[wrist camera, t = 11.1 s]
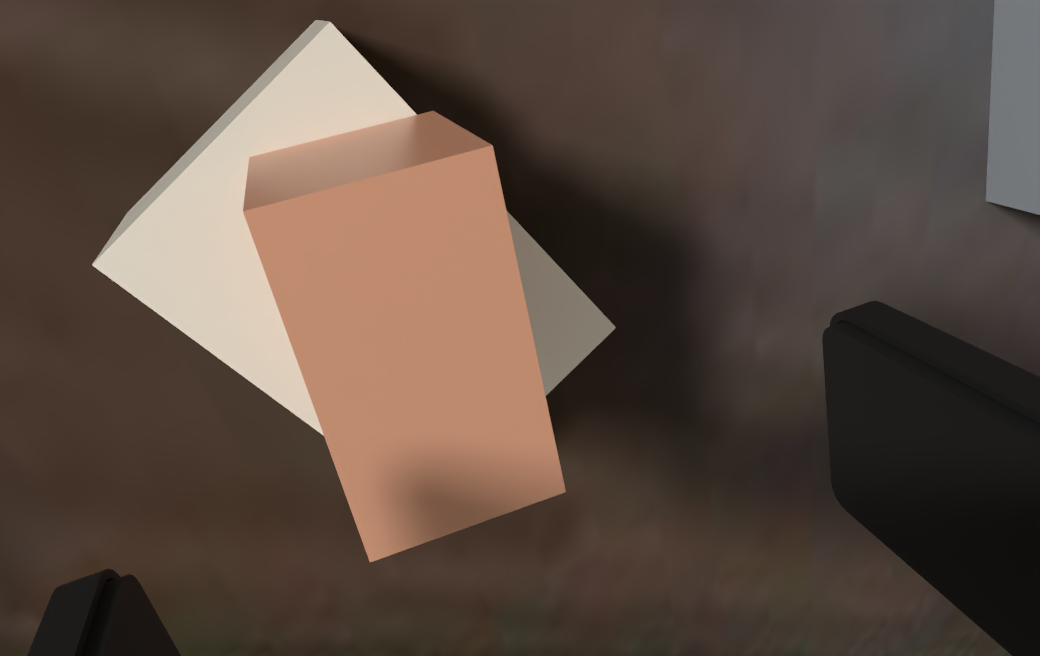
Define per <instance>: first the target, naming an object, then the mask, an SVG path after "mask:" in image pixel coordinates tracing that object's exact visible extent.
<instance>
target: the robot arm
mask: <svg viewBox="0 0 1040 656" xmlns="http://www.w3.org/2000/svg"><path fill="white" fill-rule="evenodd" d="M822 341H823V356H824V372H825V388H826V404H827V419H828V435H829V451H830V466H831V482H832V488H833V491H834V494H835V496H836V498H837V500H838V501H839V503H840V504H841V506H842V507H843V508H844V509H845V510H846V511H847V512H848V513H849V514H851V515H852V516H853V517H854V518H855V519H856V520H857V521H859V522H860V523H861V524H862V525H863V526H864V527H865V528H867V529H868V530H869V531H870V532H871V533H872V534H874V535H875V536H876V537H877V538H878V539H879V540H880V541H882V542H883V543H884V544H885V545H886V546H887V547H888V548H890V549H891V550H892V551H893V552H894V553H895V554H896V555H898V556H899V557H900V558H901V559H902V560H903V561H904V562H906V563H907V564H908V565H909V566H910V567H911V568H912V569H914V570H915V571H916V572H917V573H918V574H919V575H921V576H922V577H923V578H924V579H925V580H926V581H927V582H929V583H930V584H931V585H932V586H933V587H934V588H935V589H937V590H938V591H939V592H940V593H941V594H942V595H943V596H945V597H946V598H947V599H948V600H949V601H950V602H951V603H953V604H954V605H955V606H956V607H957V608H958V609H960V610H961V611H962V612H963V613H964V614H965V615H966V616H968V617H969V618H970V619H971V620H972V621H973V622H974V623H976V624H977V625H978V626H979V627H980V628H981V629H982V630H984V631H985V632H986V633H987V634H988V635H989V636H990V637H992V638H993V639H994V640H995V641H996V642H997V643H999V644H1000V645H1001V646H1002V647H1003V648H1004V649H1005V650H1007V651H1008V652H1009V653H1010V654H1011V655H1012V656H1040V377H1038V376H1036V375H1034V374H1032V373H1030V372H1028V371H1026V370H1023V369H1021V368H1019V367H1017V366H1015V365H1013V364H1011V363H1009V362H1006V361H1004V360H1002V359H1000V358H998V357H996V356H994V355H992V354H989V353H987V352H985V351H983V350H981V349H979V348H977V347H975V346H973V345H970V344H968V343H966V342H964V341H962V340H960V339H958V338H956V337H953V336H951V335H949V334H947V333H945V332H943V331H941V330H939V329H936V328H934V327H932V326H930V325H928V324H926V323H924V322H922V321H920V320H917V319H915V318H913V317H911V316H909V315H907V314H905V313H903V312H900V311H898V310H896V309H894V308H892V307H890V306H888V305H886V304H884V303H881V302H878V301H872V302H868V303H865V304H862V305H859V306H856V307H854V308H851V309H848V310H845V311H842V312H839V313H836V314H835V315H834V316H833V317H832V319H831V322H830V327H828V328H827V329H825V330H824V333H823V340H822ZM27 656H181V655H180V653H179V652H178V650H177V648H176V646H175V645H174V643H173V641H172V639H171V638H170V636H169V634H168V632H167V630H166V629H165V627H164V625H163V623H162V622H161V620H160V618H159V616H158V615H157V613H156V611H155V609H154V608H153V606H152V604H151V602H150V600H149V599H148V597H147V595H146V593H145V592H144V590H143V588H142V586H141V585H140V583H139V582H138V580H137V579H136V578H135V577H134V576H133V575H126V576H123V577H120V576H119V575H118V574H117V573H116V572H115V571H114V570H111V569H106V570H103V571H100V572H98V573H95V574H92V575H89V576H86V577H83V578H80V579H78V580H75V581H72V582H69V583H66V584H63V585H61V586H59V587H57V588H56V589H55V591H54V592H53V594H52V596H51V598H50V601H49V603H48V606H47V608H46V611H45V613H44V616H43V618H42V621H41V623H40V626H39V628H38V631H37V633H36V636H35V638H34V640H33V643H32V645H31V648H30V650H29V653H28V655H27Z"/></svg>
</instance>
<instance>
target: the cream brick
mask: <svg viewBox="0 0 1040 656" xmlns="http://www.w3.org/2000/svg"><path fill="white" fill-rule="evenodd" d="M414 115H417V114H416V113H415V112H414V111H413V110H412V109H411V108H410V107H409V106H408V105H407V103H406V102H405V101H404V100H403V99H402V98H401V97H400V96H399V95H398V94H397V93H396V92H395V91H394V90H393V88H392V87H391V86H390V85H389V84H388V83H387V82H386V81H385V80H384V79H383V78H382V77H381V76H380V75H379V74H378V72H377V71H376V70H375V69H374V68H373V67H372V66H371V65H370V64H369V63H368V62H367V61H366V60H365V59H364V57H363V56H362V55H361V54H360V53H359V52H358V51H357V50H356V49H355V48H354V47H353V46H352V45H351V44H350V43H349V41H348V40H347V39H346V38H345V37H344V36H343V35H342V34H341V33H340V32H339V31H338V30H337V29H336V28H335V26H334V25H333V24H332V23H331V22H328V21H320V20H315V21H314V22H313V23H312V24H311V25H310V26H309V27H308V28H307V29H306V31H305V32H304V33H303V34H302V35H301V36H300V37H299V38H298V39H297V40H296V41H295V42H294V43H293V44H292V45H291V46H290V47H289V48H288V49H287V50H286V51H285V52H284V53H283V54H282V55H281V56H280V57H279V58H278V59H277V60H276V61H275V62H274V63H273V64H272V65H271V66H270V67H269V68H268V69H267V70H266V71H265V72H264V73H263V74H262V76H261V77H260V78H259V79H258V80H257V81H256V82H255V83H254V84H253V85H252V86H251V87H250V88H249V89H248V90H247V91H246V92H245V93H244V94H243V95H242V96H241V97H240V98H239V99H238V100H237V101H236V102H235V103H234V104H233V105H232V106H231V107H230V108H229V109H228V110H227V111H226V112H225V113H224V114H223V115H222V116H221V117H220V118H219V120H218V121H217V122H216V123H215V124H214V125H213V126H212V127H211V128H210V129H209V130H208V131H207V132H206V133H205V134H204V135H203V136H202V137H201V138H200V139H199V140H198V141H197V142H196V143H195V144H194V145H193V146H192V147H191V148H190V149H189V150H188V151H187V152H186V153H185V154H184V155H183V156H182V157H181V158H180V159H179V160H178V161H177V162H176V163H175V165H174V166H173V167H172V168H171V169H170V170H169V171H168V172H167V173H166V174H165V175H164V176H163V177H162V178H161V179H160V180H159V181H158V182H157V183H156V184H155V185H154V186H153V187H152V188H151V189H150V190H149V191H148V192H147V193H146V194H145V195H144V196H143V197H142V198H141V199H140V200H139V201H138V202H137V203H136V204H135V205H134V206H133V207H132V209H131V210H130V211H129V212H128V213H127V214H126V216H125V217H124V218H123V220H122V221H121V223H120V224H119V226H118V227H117V229H116V230H115V232H114V233H113V235H112V236H111V238H110V239H109V241H108V242H107V244H106V245H105V246H104V248H103V249H102V251H101V252H100V254H99V255H98V257H97V258H96V260H95V261H94V263H93V264H92V265H93V266H94V267H95V268H97V269H98V270H99V271H101V272H102V273H103V274H105V275H106V276H108V277H109V278H110V279H112V280H113V281H114V282H116V283H117V284H118V285H120V286H121V287H122V288H124V289H125V290H127V291H128V292H129V293H131V294H132V295H133V296H135V297H136V298H137V299H139V300H140V301H141V302H143V303H144V304H146V305H147V306H148V307H150V308H151V309H152V310H154V311H155V312H156V313H158V314H159V315H161V316H162V317H163V318H165V319H166V320H167V321H169V322H170V323H171V324H173V325H174V326H175V327H177V328H178V329H180V330H181V331H182V332H184V333H185V334H186V335H188V336H189V337H190V338H192V339H193V340H194V341H196V342H197V343H199V344H200V345H201V346H203V347H204V348H205V349H207V350H208V351H209V352H211V353H212V354H213V355H215V356H216V357H218V358H219V359H220V360H222V361H223V362H224V363H226V364H227V365H228V366H230V367H231V368H232V369H234V370H235V371H237V372H238V373H239V374H241V375H242V376H243V377H245V378H246V379H247V380H249V381H250V382H252V383H253V384H254V385H256V386H257V387H258V388H260V389H261V390H262V391H264V392H265V393H266V394H268V395H269V396H271V397H272V398H273V399H275V400H276V401H277V402H279V403H280V404H281V405H283V406H284V407H285V408H287V409H288V410H290V411H291V412H292V413H294V414H295V415H296V416H298V417H299V418H300V419H302V420H303V421H304V422H306V423H307V424H309V425H310V426H311V427H313V428H314V429H315V430H317V431H318V432H319V433H321V434H322V435H323V436H324V434H323V431H322V428H321V426H320V423H319V420H318V417H317V415H316V412H315V409H314V406H313V404H312V401H311V398H310V395H309V393H308V390H307V387H306V384H305V382H304V379H303V376H302V373H301V371H300V368H299V365H298V362H297V360H296V357H295V354H294V351H293V348H292V346H291V343H290V340H289V337H288V335H287V332H286V329H285V326H284V324H283V321H282V318H281V315H280V313H279V310H278V307H277V304H276V302H275V299H274V296H273V293H272V291H271V288H270V285H269V282H268V280H267V277H266V274H265V271H264V268H263V266H262V263H261V260H260V257H259V255H258V252H257V249H256V246H255V244H254V241H253V238H252V235H251V233H250V230H249V227H248V224H247V222H246V219H245V216H244V213H243V206H244V197H245V189H246V180H247V172H248V163H249V157H251V156H255V155H259V154H263V153H267V152H271V151H275V150H279V149H283V148H287V147H291V146H295V145H299V144H303V143H307V142H311V141H315V140H319V139H323V138H327V137H331V136H335V135H339V134H343V133H347V132H351V131H355V130H359V129H362V128H366V127H370V126H374V125H378V124H382V123H386V122H390V121H394V120H398V119H402V118H406V117H410V116H414ZM506 211H507V210H506ZM507 216H508V220H509V225H510V230H511V235H512V239H513V244H514V249H515V254H516V258H517V263H518V268H519V273H520V277H521V282H522V287H523V292H524V296H525V301H526V306H527V311H528V315H529V320H530V325H531V330H532V334H533V339H534V344H535V348H536V353H537V358H538V363H539V367H540V372H541V377H542V382H543V386H544V391H545V396H546V395H547V394H548V393H549V392H550V391H551V390H552V389H553V388H555V387H556V386H557V385H558V384H559V383H560V382H561V381H562V380H563V379H564V378H565V377H566V376H567V375H568V374H569V373H570V372H571V371H572V370H573V369H574V368H575V367H576V366H577V365H578V364H579V363H580V362H581V361H582V360H583V359H584V358H585V357H586V356H587V355H588V354H589V353H591V352H592V351H593V350H594V349H595V348H596V347H597V346H598V345H599V344H600V343H601V342H602V341H603V340H604V339H605V338H606V337H607V336H608V335H609V334H610V333H611V332H612V331H613V330H614V329H615V328H616V327H615V326H614V325H613V324H612V323H611V322H610V321H609V319H608V318H607V317H606V316H605V315H604V314H603V313H602V312H601V311H600V310H599V309H598V308H597V307H596V306H595V304H594V303H593V302H592V301H591V300H590V299H589V298H588V297H587V296H586V295H585V294H584V293H583V292H582V291H581V289H580V288H579V287H578V286H577V285H576V284H575V283H574V282H573V281H572V280H571V279H570V278H569V277H568V276H567V275H566V273H565V272H564V271H563V270H562V269H561V268H560V267H559V266H558V265H557V264H556V263H555V262H554V261H553V260H552V258H551V257H550V256H549V255H548V254H547V253H546V252H545V251H544V250H543V249H542V248H541V247H540V246H539V245H538V244H537V242H536V241H535V240H534V239H533V238H532V237H531V236H530V235H529V234H528V233H527V232H526V231H525V230H524V229H523V227H522V226H521V225H520V224H519V223H518V222H517V221H516V220H515V219H514V218H513V217H512V216H511V215H510V214H509V213H508V211H507Z"/></svg>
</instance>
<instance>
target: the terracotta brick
mask: <svg viewBox="0 0 1040 656" xmlns="http://www.w3.org/2000/svg"><path fill="white" fill-rule="evenodd" d="M243 213H244V216H245V219H246V222H247V224H248V227H249V230H250V233H251V235H252V238H253V241H254V244H255V246H256V249H257V252H258V255H259V257H260V260H261V263H262V266H263V268H264V271H265V274H266V277H267V280H268V282H269V285H270V288H271V291H272V293H273V296H274V299H275V302H276V304H277V307H278V310H279V313H280V315H281V318H282V321H283V324H284V326H285V329H286V332H287V335H288V337H289V340H290V343H291V346H292V348H293V351H294V354H295V357H296V360H297V362H298V365H299V368H300V371H301V373H302V376H303V379H304V382H305V384H306V387H307V390H308V393H309V395H310V398H311V401H312V404H313V406H314V409H315V412H316V415H317V417H318V420H319V423H320V426H321V428H322V431H323V434H324V437H325V440H326V442H327V445H328V448H329V451H330V453H331V456H332V459H333V462H334V464H335V467H336V470H337V473H338V475H339V478H340V481H341V484H342V486H343V489H344V492H345V495H346V497H347V500H348V503H349V506H350V508H351V511H352V514H353V517H354V520H355V522H356V525H357V528H358V531H359V533H360V536H361V539H362V542H363V544H364V547H365V550H366V553H367V555H368V558H369V561H370V562H372V561H375V560H378V559H381V558H384V557H386V556H389V555H392V554H395V553H398V552H400V551H403V550H406V549H409V548H411V547H414V546H417V545H420V544H423V543H425V542H428V541H431V540H434V539H436V538H439V537H442V536H445V535H448V534H450V533H453V532H456V531H459V530H461V529H464V528H467V527H470V526H473V525H475V524H478V523H481V522H484V521H486V520H489V519H492V518H495V517H498V516H500V515H503V514H506V513H509V512H511V511H514V510H517V509H520V508H523V507H525V506H528V505H531V504H534V503H536V502H539V501H542V500H545V499H548V498H550V497H553V496H556V495H559V494H561V493H564V492H566V491H565V486H564V481H563V477H562V472H561V467H560V462H559V458H558V453H557V448H556V443H555V439H554V434H553V429H552V424H551V420H550V415H549V410H548V405H547V401H546V396H545V391H544V386H543V382H542V377H541V372H540V367H539V363H538V358H537V353H536V348H535V344H534V339H533V334H532V330H531V325H530V320H529V315H528V311H527V306H526V301H525V296H524V292H523V287H522V282H521V277H520V273H519V268H518V263H517V258H516V254H515V249H514V244H513V239H512V235H511V230H510V225H509V220H508V216H507V211H506V206H505V201H504V197H503V192H502V187H501V182H500V178H499V173H498V168H497V164H496V159H495V154H494V149H493V145H491V144H489V143H488V142H486V141H484V140H483V139H481V138H479V137H477V136H476V135H474V134H472V133H471V132H469V131H467V130H465V129H464V128H462V127H460V126H459V125H457V124H455V123H453V122H452V121H450V120H448V119H447V118H445V117H443V116H442V115H440V114H438V113H436V112H435V111H430V112H426V113H422V114H418V115H414V116H410V117H406V118H402V119H398V120H394V121H390V122H386V123H382V124H378V125H374V126H370V127H366V128H362V129H359V130H355V131H351V132H347V133H343V134H339V135H335V136H331V137H327V138H323V139H319V140H315V141H311V142H307V143H303V144H299V145H295V146H291V147H287V148H283V149H279V150H275V151H271V152H267V153H263V154H259V155H255V156H251V157H249V163H248V172H247V180H246V189H245V197H244V206H243Z"/></svg>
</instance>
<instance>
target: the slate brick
mask: <svg viewBox="0 0 1040 656" xmlns="http://www.w3.org/2000/svg"><path fill="white" fill-rule="evenodd" d="M986 201H988V202H992V203H996V204H999V205H1003V206H1007V207H1011V208H1015V209H1019V210H1023V211H1026V212H1030V213H1034V214H1038V215H1040V0H995V5H994V28H993V50H992V73H991V96H990V119H989V141H988V164H987V187H986Z"/></svg>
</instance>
